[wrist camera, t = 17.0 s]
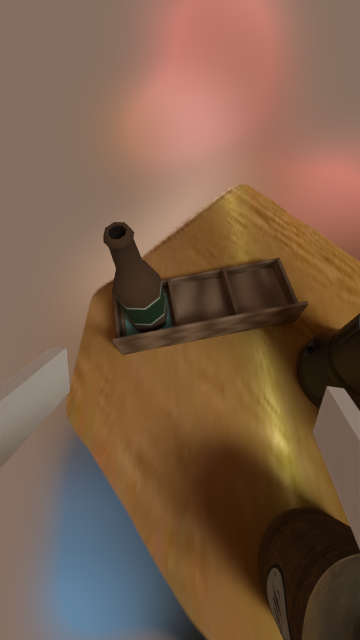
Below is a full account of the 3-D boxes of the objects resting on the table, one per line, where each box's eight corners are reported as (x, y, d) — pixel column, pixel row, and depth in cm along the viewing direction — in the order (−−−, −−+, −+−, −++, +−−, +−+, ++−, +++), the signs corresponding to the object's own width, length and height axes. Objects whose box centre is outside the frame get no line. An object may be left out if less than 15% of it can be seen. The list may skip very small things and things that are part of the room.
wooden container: (236, 567, 38) (277, 700, 18) (300, 483, 42) (392, 519, 22) (328, 682, 33) (520, 1033, 14) (392, 575, 37) (617, 728, 17)
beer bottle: (174, 327, 53) (157, 245, 31) (135, 340, 52) (90, 266, 30) (162, 294, 56) (139, 199, 34) (125, 306, 55) (78, 217, 34)
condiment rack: (273, 266, 59) (282, 245, 52) (295, 320, 53) (308, 304, 47) (117, 296, 58) (107, 278, 52) (123, 354, 52) (112, 342, 46)
